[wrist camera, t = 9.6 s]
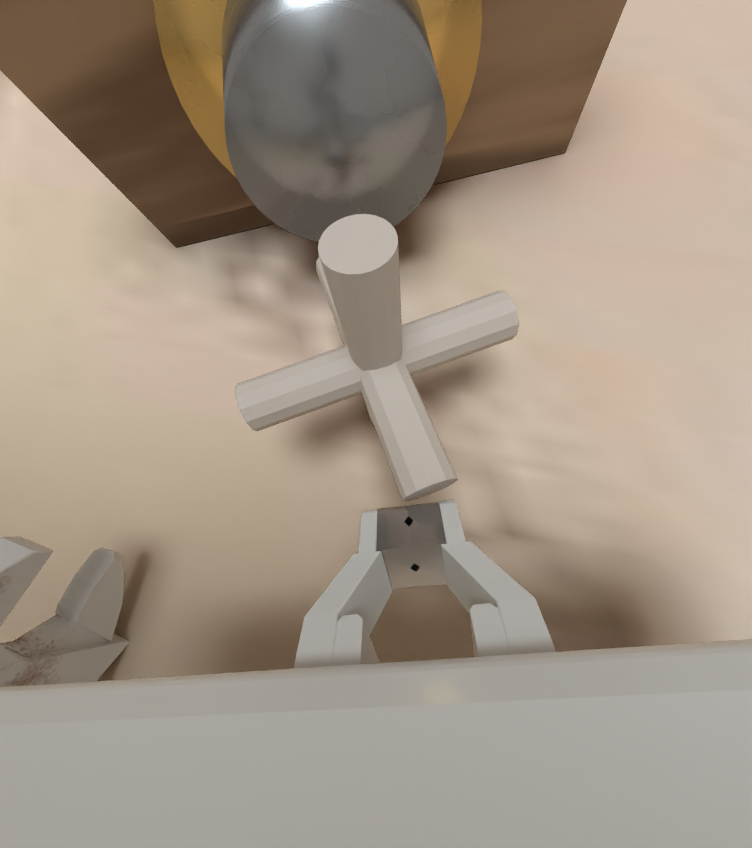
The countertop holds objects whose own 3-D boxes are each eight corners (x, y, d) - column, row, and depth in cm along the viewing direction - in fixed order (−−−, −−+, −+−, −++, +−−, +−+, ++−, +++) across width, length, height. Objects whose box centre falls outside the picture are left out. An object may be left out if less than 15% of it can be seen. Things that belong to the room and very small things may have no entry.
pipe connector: (320, 547, 15) (166, 545, 5) (271, 366, 18) (129, 180, 9) (527, 469, 15) (716, 341, 6) (440, 306, 19) (468, 67, 9)
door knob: (477, 243, 18) (575, -241, 6) (265, 290, 19) (13, -35, 7) (459, 170, 19) (512, -351, 7) (260, 219, 20) (38, -157, 9)
